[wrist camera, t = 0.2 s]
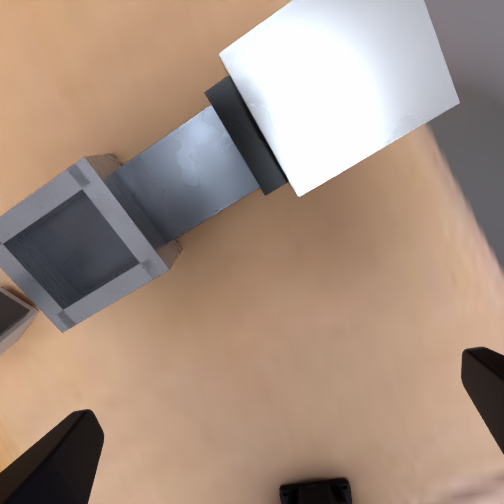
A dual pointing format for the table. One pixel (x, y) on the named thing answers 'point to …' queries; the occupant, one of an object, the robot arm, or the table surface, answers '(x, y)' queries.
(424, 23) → the grey l-shaped stand
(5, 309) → the tall grey pillar
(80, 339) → the table surface
